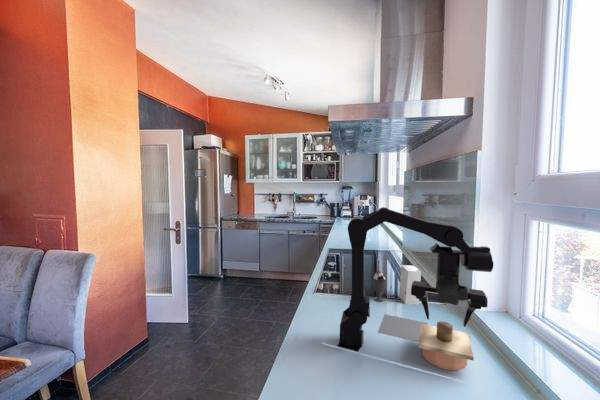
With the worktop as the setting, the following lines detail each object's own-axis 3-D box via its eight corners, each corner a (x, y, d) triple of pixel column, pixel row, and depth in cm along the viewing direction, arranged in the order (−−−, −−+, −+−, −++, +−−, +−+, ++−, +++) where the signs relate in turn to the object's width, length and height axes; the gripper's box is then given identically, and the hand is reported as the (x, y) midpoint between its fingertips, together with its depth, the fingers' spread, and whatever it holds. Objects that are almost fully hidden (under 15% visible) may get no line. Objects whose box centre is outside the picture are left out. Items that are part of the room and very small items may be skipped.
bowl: (422, 364, 78) (422, 346, 78) (423, 344, 88) (423, 328, 88) (467, 376, 73) (468, 357, 73) (463, 353, 83) (464, 337, 83)
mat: (377, 333, 94) (377, 332, 94) (384, 315, 107) (384, 314, 107) (426, 345, 88) (426, 343, 88) (427, 324, 101) (427, 322, 101)
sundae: (374, 296, 125) (375, 263, 125) (388, 300, 121) (390, 266, 120) (367, 301, 120) (368, 266, 119) (382, 305, 116) (383, 270, 115)
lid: (418, 347, 77) (419, 329, 77) (420, 326, 89) (421, 311, 89) (473, 360, 72) (474, 341, 72) (467, 336, 84) (468, 320, 83)
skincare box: (398, 297, 125) (400, 264, 124) (412, 297, 125) (413, 264, 124) (405, 305, 117) (407, 270, 116) (420, 305, 117) (421, 270, 116)
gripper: (410, 271, 76) (408, 327, 77) (492, 282, 68) (489, 345, 69) (413, 261, 86) (411, 311, 87) (485, 270, 78) (482, 325, 79)
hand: (445, 322), depth 80 cm, fingers open, 9 cm apart
